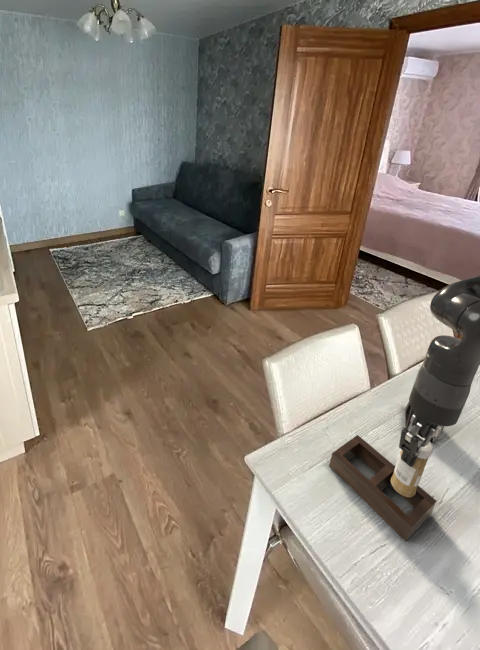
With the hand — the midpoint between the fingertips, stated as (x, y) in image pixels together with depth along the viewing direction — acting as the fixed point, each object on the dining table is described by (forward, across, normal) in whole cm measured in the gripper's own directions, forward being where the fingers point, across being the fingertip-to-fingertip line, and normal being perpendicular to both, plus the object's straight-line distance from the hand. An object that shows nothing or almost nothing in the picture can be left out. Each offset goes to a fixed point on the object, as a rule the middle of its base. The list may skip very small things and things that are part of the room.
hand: (414, 456), depth 69 cm
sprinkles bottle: (+10, 0, 0) cm, 10 cm away
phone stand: (+16, +26, +8) cm, 31 cm away
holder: (+15, 0, +4) cm, 16 cm away
